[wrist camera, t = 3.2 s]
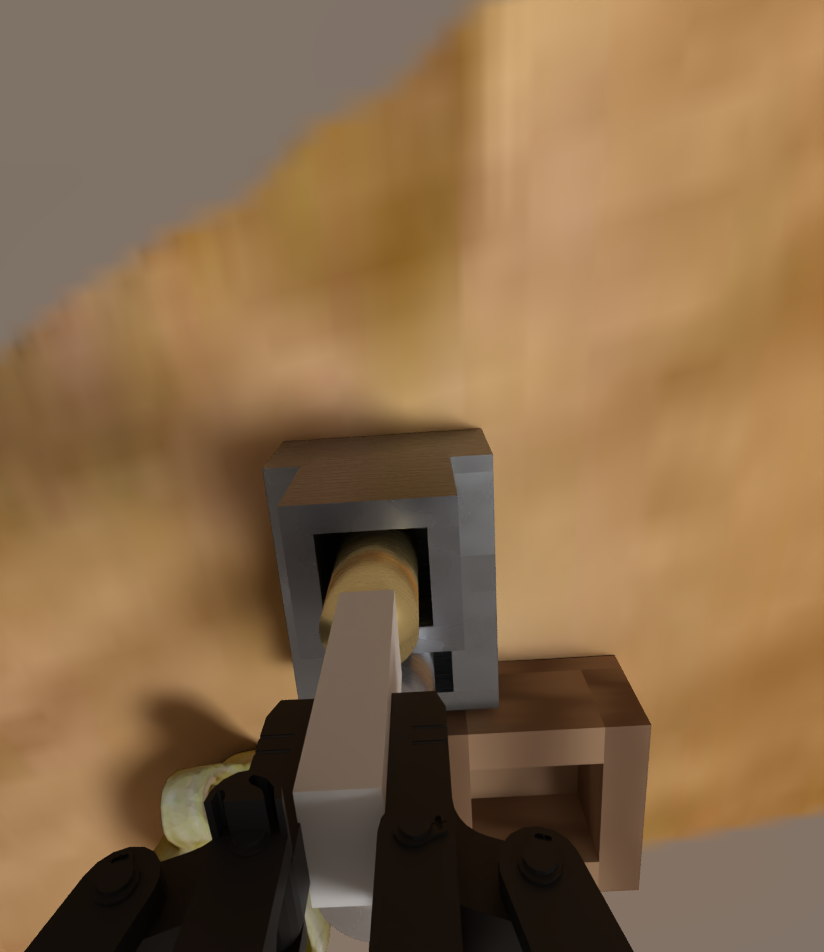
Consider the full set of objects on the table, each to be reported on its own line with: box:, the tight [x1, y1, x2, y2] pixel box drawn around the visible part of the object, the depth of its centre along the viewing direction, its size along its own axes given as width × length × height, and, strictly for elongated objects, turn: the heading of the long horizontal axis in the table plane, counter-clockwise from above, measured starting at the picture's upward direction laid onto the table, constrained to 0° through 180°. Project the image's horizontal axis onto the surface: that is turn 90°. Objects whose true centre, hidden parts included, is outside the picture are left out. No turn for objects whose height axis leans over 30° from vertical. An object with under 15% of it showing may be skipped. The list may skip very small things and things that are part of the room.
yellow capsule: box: [319, 528, 419, 663], centre depth 20 cm, size 3×3×7 cm
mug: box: [154, 750, 331, 952], centre depth 30 cm, size 12×10×10 cm
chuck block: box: [263, 429, 499, 711], centre depth 25 cm, size 9×12×9 cm
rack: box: [446, 655, 651, 892], centre depth 30 cm, size 10×10×5 cm
